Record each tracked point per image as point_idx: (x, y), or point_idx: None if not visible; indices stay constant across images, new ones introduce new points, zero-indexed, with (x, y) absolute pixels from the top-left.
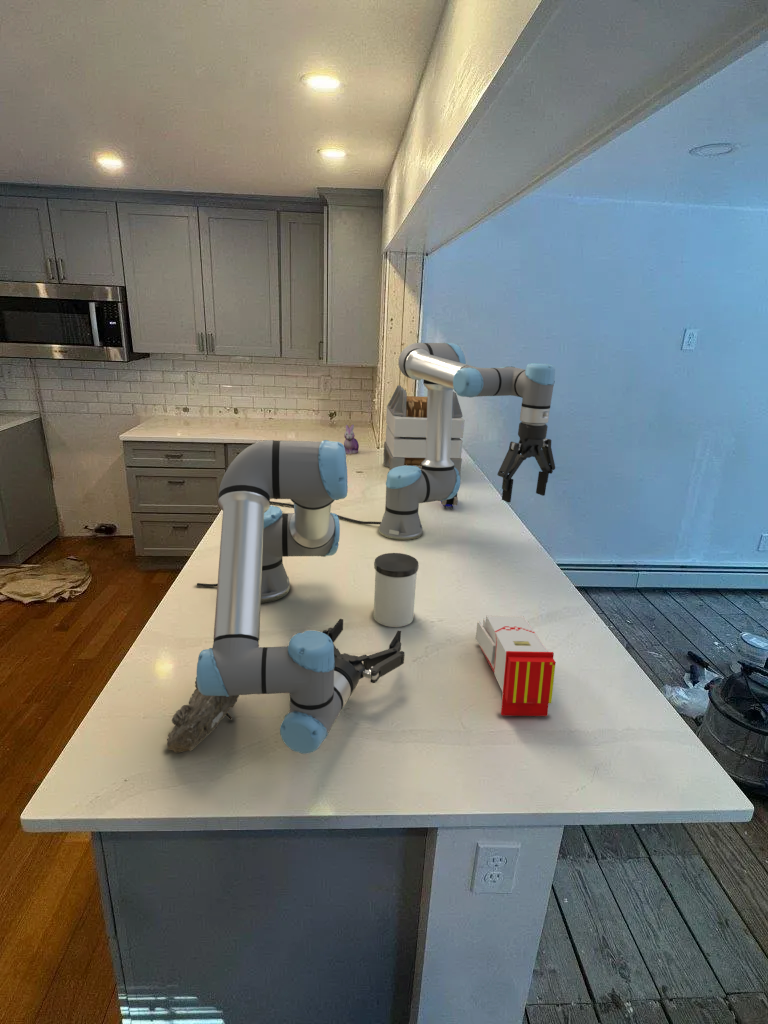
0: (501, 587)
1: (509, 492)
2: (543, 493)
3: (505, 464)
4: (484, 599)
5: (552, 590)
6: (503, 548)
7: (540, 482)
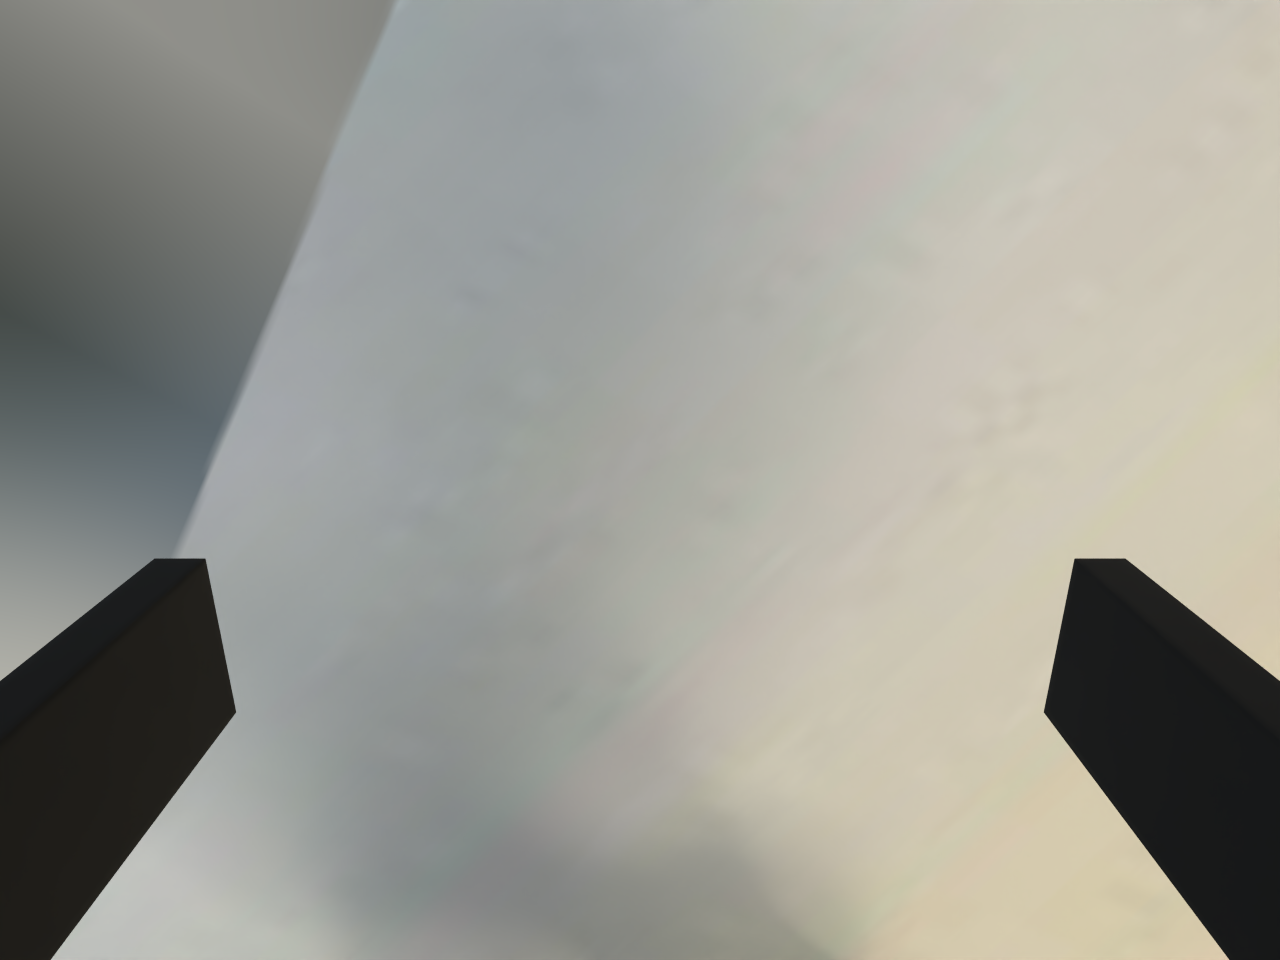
0: (779, 292)
1: (1252, 677)
2: (177, 578)
3: None
4: (1002, 220)
5: (496, 78)
6: (358, 692)
7: (76, 819)
